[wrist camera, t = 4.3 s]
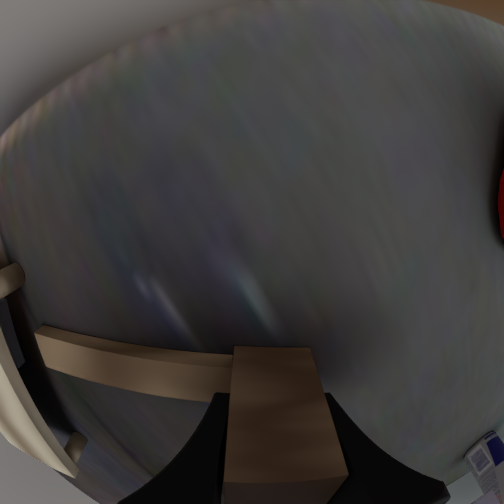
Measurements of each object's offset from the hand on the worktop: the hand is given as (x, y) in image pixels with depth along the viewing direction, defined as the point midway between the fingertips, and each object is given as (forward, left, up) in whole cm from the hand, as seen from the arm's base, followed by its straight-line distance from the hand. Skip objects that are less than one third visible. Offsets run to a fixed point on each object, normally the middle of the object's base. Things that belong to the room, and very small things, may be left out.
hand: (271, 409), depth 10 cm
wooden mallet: (+6, 0, -2) cm, 6 cm away
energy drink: (-29, +18, -3) cm, 35 cm away
